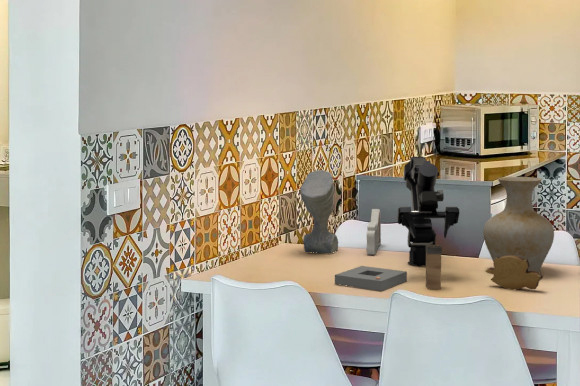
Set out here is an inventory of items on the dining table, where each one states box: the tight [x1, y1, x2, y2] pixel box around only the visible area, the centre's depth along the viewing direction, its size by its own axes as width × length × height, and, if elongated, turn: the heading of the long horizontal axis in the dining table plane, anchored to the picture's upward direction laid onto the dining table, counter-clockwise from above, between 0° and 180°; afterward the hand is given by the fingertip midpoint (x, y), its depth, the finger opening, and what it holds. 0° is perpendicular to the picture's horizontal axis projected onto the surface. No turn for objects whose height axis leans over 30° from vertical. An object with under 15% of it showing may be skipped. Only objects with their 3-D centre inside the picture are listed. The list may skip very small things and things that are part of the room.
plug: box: [425, 244, 443, 290], centre depth 248 cm, size 4×4×12 cm
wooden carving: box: [485, 255, 544, 290], centre depth 246 cm, size 16×5×10 cm, turn 61°
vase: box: [482, 176, 555, 274], centre depth 268 cm, size 22×22×30 cm
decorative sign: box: [366, 208, 382, 256], centre depth 309 cm, size 23×3×15 cm, turn 168°
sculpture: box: [300, 169, 339, 254], centre depth 304 cm, size 12×23×30 cm, turn 170°
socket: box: [334, 265, 408, 292], centre depth 256 cm, size 16×16×3 cm
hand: (430, 237), depth 256 cm, fingers open, 9 cm apart
